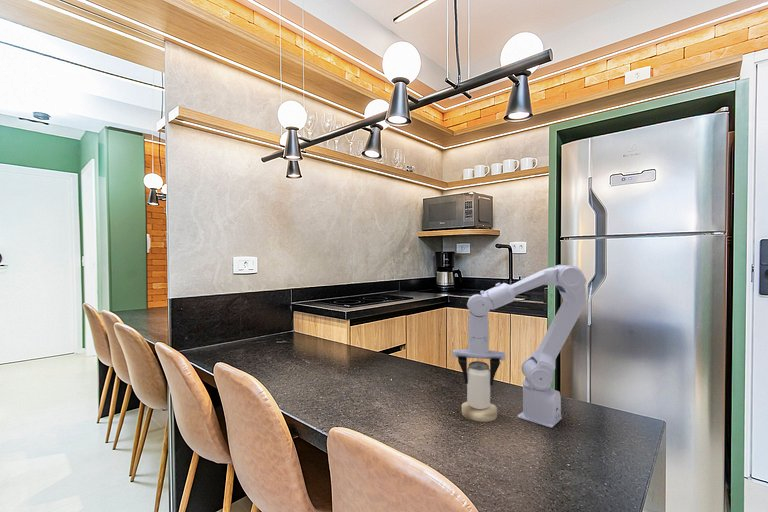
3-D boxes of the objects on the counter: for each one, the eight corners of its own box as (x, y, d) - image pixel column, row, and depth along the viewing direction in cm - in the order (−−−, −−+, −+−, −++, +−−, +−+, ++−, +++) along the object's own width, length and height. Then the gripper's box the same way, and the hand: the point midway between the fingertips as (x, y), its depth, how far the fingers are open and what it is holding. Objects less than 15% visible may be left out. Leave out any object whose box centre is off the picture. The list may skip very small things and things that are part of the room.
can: (464, 407, 105) (464, 368, 103) (470, 396, 111) (470, 358, 109) (487, 412, 102) (487, 372, 100) (492, 401, 108) (492, 362, 106)
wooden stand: (503, 413, 105) (503, 406, 105) (486, 425, 98) (486, 418, 98) (472, 404, 112) (472, 397, 112) (454, 414, 105) (454, 407, 105)
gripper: (503, 334, 108) (503, 380, 108) (453, 332, 111) (453, 377, 111) (505, 339, 101) (506, 388, 101) (452, 337, 104) (452, 385, 104)
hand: (478, 383), depth 105 cm, fingers closed on can, 6 cm apart
